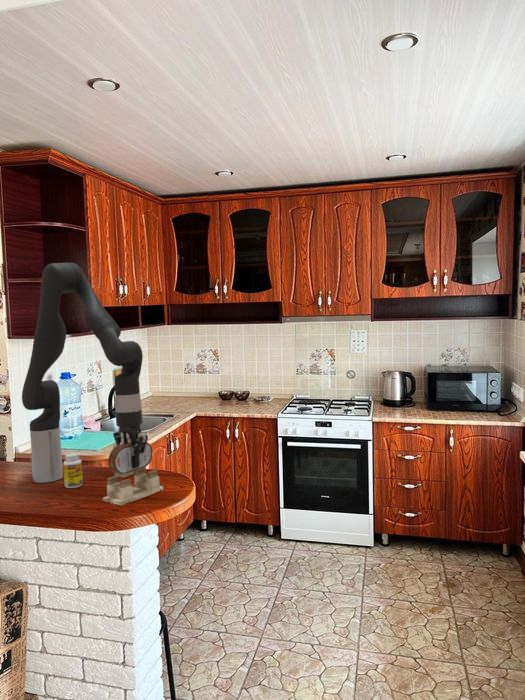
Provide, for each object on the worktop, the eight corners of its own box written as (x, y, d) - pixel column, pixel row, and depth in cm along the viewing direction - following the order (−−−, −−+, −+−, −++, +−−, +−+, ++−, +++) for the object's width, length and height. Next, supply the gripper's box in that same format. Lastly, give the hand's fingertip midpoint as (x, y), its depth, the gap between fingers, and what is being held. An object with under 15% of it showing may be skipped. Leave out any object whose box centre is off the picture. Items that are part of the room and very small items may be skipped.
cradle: (103, 500, 154) (101, 479, 153) (146, 485, 166) (145, 466, 166) (120, 505, 149) (119, 483, 148) (163, 489, 161) (162, 469, 161)
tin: (148, 464, 164) (146, 437, 164) (155, 465, 162) (153, 437, 162) (108, 477, 152) (106, 447, 151) (115, 478, 150) (113, 448, 149)
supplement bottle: (67, 490, 166) (64, 457, 165) (62, 485, 170) (60, 454, 170) (85, 486, 169) (83, 454, 168) (80, 482, 173) (78, 451, 173)
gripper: (103, 409, 157) (107, 467, 158) (133, 412, 149) (137, 473, 150) (124, 405, 163) (127, 461, 164) (154, 408, 155) (157, 466, 156)
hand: (132, 466), depth 157 cm, fingers closed on tin, 2 cm apart
